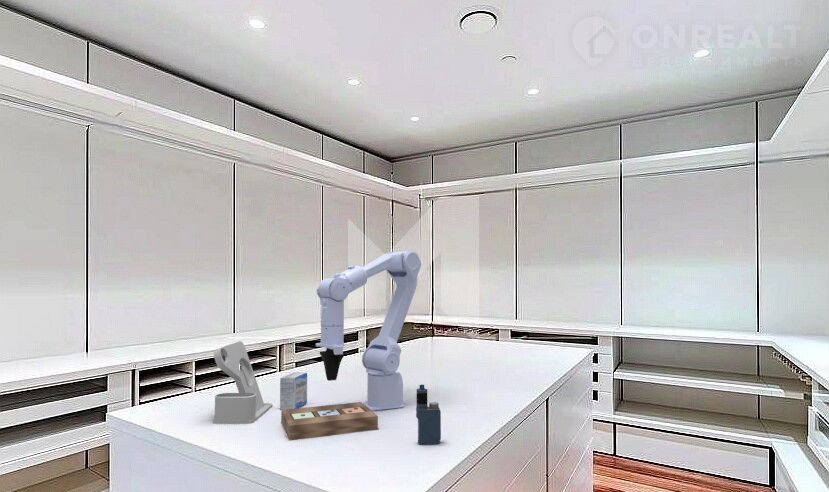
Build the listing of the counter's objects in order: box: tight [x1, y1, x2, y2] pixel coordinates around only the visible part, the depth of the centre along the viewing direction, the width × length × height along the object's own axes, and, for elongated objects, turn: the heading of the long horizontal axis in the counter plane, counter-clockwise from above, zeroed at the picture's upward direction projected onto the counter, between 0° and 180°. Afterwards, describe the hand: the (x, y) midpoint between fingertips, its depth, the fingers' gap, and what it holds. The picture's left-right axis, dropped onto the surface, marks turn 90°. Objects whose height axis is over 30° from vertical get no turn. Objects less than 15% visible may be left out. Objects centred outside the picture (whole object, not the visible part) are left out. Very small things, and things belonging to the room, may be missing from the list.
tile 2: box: [341, 407, 365, 414], centre depth 114 cm, size 5×5×2 cm
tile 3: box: [317, 410, 340, 417], centre depth 112 cm, size 5×5×2 cm
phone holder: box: [212, 340, 274, 425], centre depth 122 cm, size 17×10×18 cm, turn 0°
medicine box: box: [279, 371, 308, 410], centre depth 129 cm, size 8×4×9 cm, turn 168°
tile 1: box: [291, 412, 314, 420], centre depth 109 cm, size 5×5×2 cm
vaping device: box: [415, 384, 442, 446], centre depth 100 cm, size 3×5×12 cm, turn 95°
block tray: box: [280, 401, 379, 441], centre depth 112 cm, size 20×14×3 cm
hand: (331, 379), depth 119 cm, fingers closed
